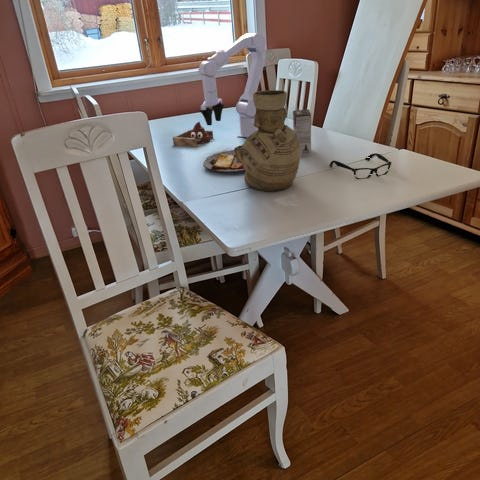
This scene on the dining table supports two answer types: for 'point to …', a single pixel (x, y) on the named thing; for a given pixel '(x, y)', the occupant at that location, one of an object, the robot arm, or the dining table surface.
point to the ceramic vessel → (270, 145)
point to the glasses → (365, 168)
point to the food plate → (223, 162)
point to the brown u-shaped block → (188, 139)
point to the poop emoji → (199, 134)
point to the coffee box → (303, 130)
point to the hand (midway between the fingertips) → (213, 123)
